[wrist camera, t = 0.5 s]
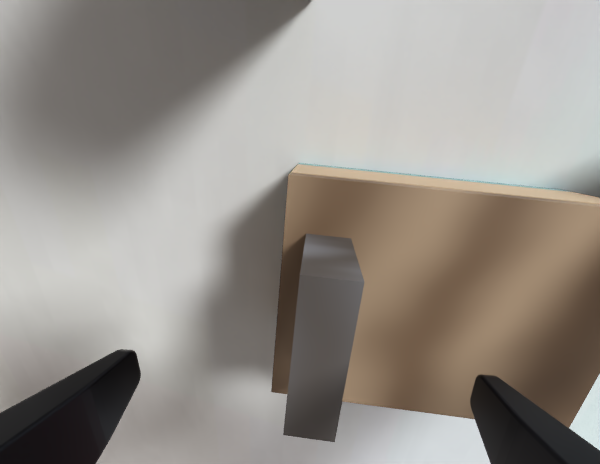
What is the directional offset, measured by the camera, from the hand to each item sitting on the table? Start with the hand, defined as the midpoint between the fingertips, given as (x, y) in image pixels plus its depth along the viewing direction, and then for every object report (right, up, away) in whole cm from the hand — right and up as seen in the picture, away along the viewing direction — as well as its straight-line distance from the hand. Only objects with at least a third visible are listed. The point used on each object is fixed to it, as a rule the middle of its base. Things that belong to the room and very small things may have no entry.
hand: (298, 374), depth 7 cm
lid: (+7, 0, +7) cm, 10 cm away
